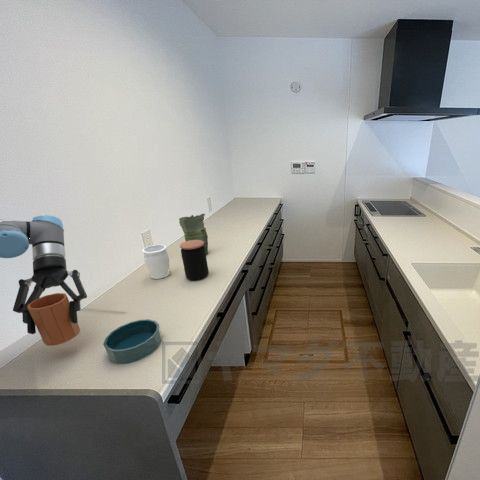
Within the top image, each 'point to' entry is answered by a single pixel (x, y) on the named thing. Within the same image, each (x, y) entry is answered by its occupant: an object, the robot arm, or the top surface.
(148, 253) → the jar
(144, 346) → the teal round bowl
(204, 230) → the pouch
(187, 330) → the top surface
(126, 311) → the top surface
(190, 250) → the coffee jar
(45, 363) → the top surface
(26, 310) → the robot arm
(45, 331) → the terracotta pot
